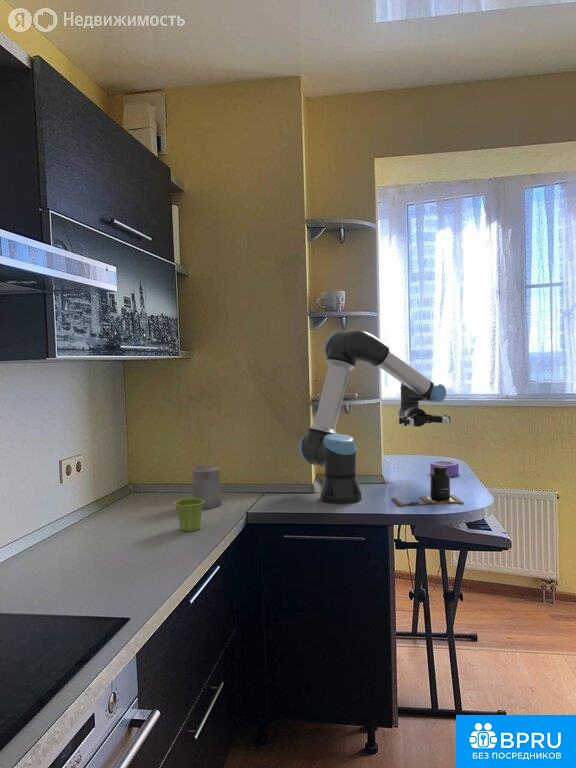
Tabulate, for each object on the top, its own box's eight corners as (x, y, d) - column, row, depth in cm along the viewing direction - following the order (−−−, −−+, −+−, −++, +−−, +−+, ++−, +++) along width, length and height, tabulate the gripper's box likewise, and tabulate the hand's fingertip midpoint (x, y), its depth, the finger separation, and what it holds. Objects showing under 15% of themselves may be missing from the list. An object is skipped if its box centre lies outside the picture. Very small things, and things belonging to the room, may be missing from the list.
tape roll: (456, 471, 257) (456, 460, 257) (460, 477, 246) (460, 465, 245) (429, 471, 259) (428, 460, 259) (431, 477, 247) (431, 465, 247)
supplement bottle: (445, 503, 204) (445, 469, 203) (427, 500, 208) (426, 467, 207) (453, 498, 209) (452, 465, 209) (435, 496, 213) (434, 464, 213)
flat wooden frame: (398, 507, 201) (398, 504, 201) (391, 499, 212) (391, 496, 212) (463, 504, 202) (463, 501, 202) (453, 496, 213) (453, 493, 213)
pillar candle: (206, 500, 218) (204, 461, 217) (226, 503, 213) (224, 463, 212) (189, 507, 210) (186, 466, 209) (210, 510, 205) (208, 468, 204)
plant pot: (173, 526, 186) (171, 500, 186) (202, 523, 190) (200, 496, 189) (178, 535, 178) (176, 507, 177) (208, 530, 181) (207, 503, 180)
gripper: (445, 425, 241) (463, 431, 220) (385, 426, 240) (397, 432, 218) (445, 407, 240) (463, 411, 219) (385, 408, 239) (397, 413, 218)
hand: (430, 422), depth 219 cm, fingers open, 13 cm apart
